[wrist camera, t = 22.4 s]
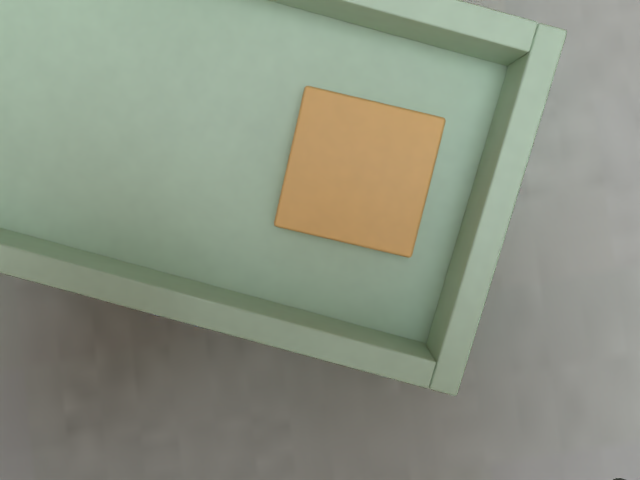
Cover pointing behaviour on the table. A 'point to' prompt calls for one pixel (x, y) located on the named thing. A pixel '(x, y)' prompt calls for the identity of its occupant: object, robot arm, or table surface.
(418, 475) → the table surface
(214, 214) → the tray
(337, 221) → the flat tan block
